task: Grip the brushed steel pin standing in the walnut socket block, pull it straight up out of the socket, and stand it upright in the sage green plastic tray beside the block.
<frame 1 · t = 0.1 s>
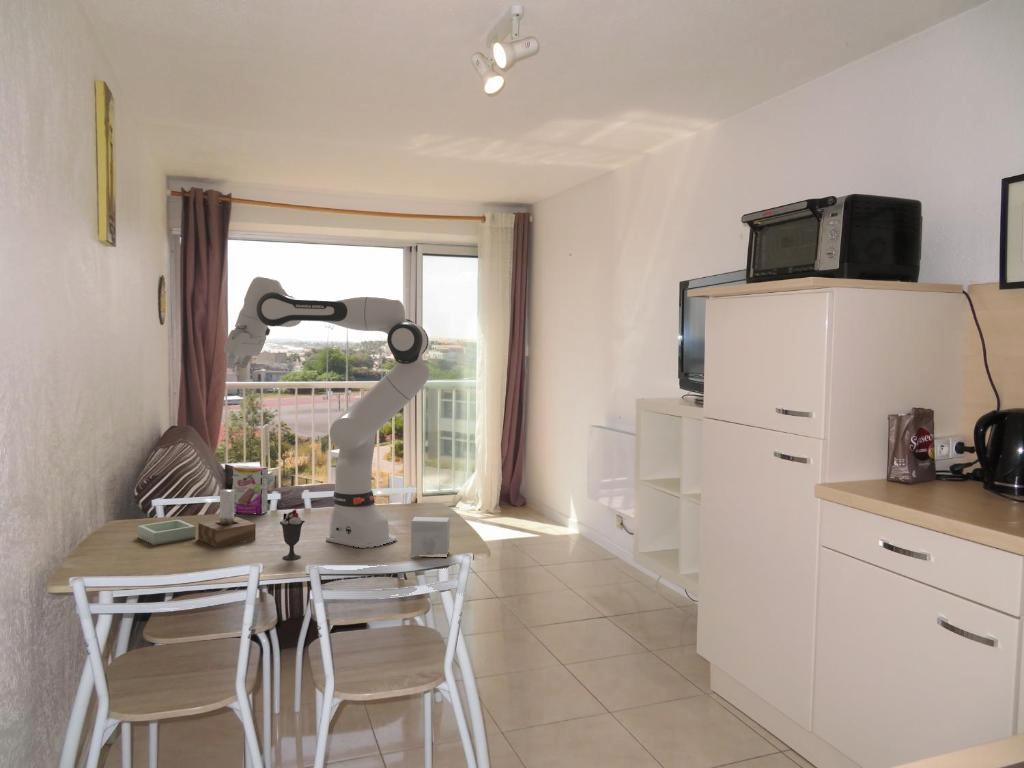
hand: (236, 367, 220), 52 cm above the table, tool tilted 20°, fingers open, 8 cm apart
skincare box: (430, 555, 203), on the table
candy bar box: (249, 513, 249), on the table
tray: (166, 537, 214), on the table
socket block: (226, 539, 214), on the table
sundae: (291, 558, 197), on the table
steel pin: (227, 515, 213), in the socket block
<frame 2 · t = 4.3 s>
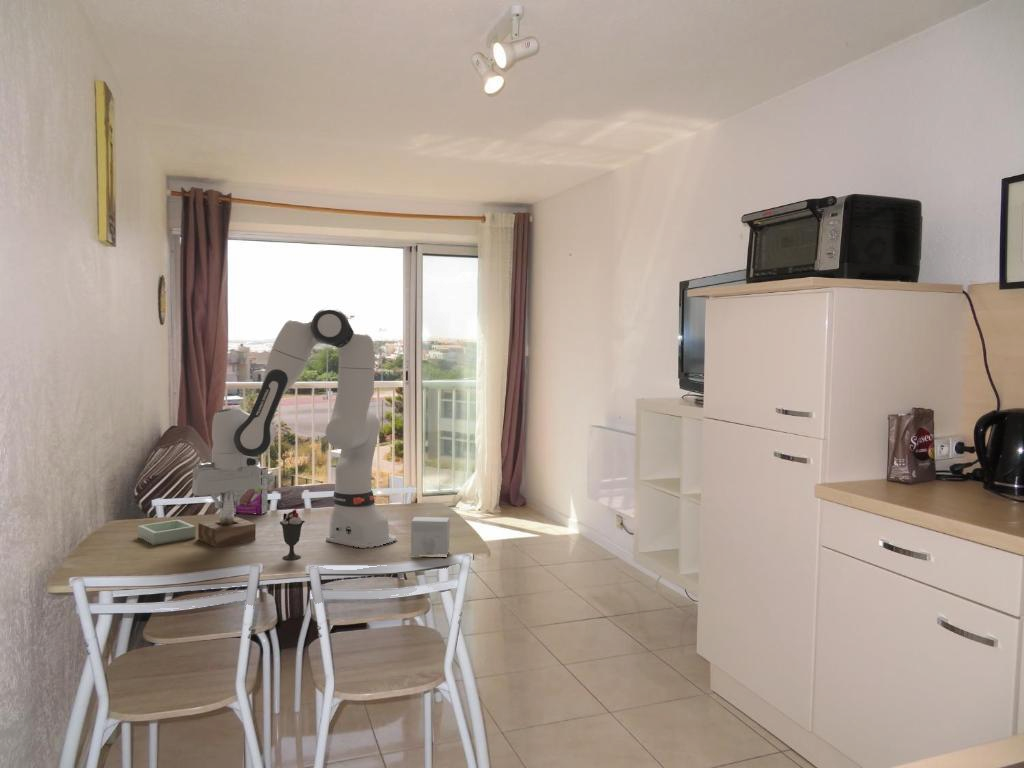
hand: (227, 506, 213), 10 cm above the table, tool pointing down, fingers closed on steel pin, 4 cm apart
steel pin: (227, 515, 213), in the socket block, touching gripper
everything else where it was.
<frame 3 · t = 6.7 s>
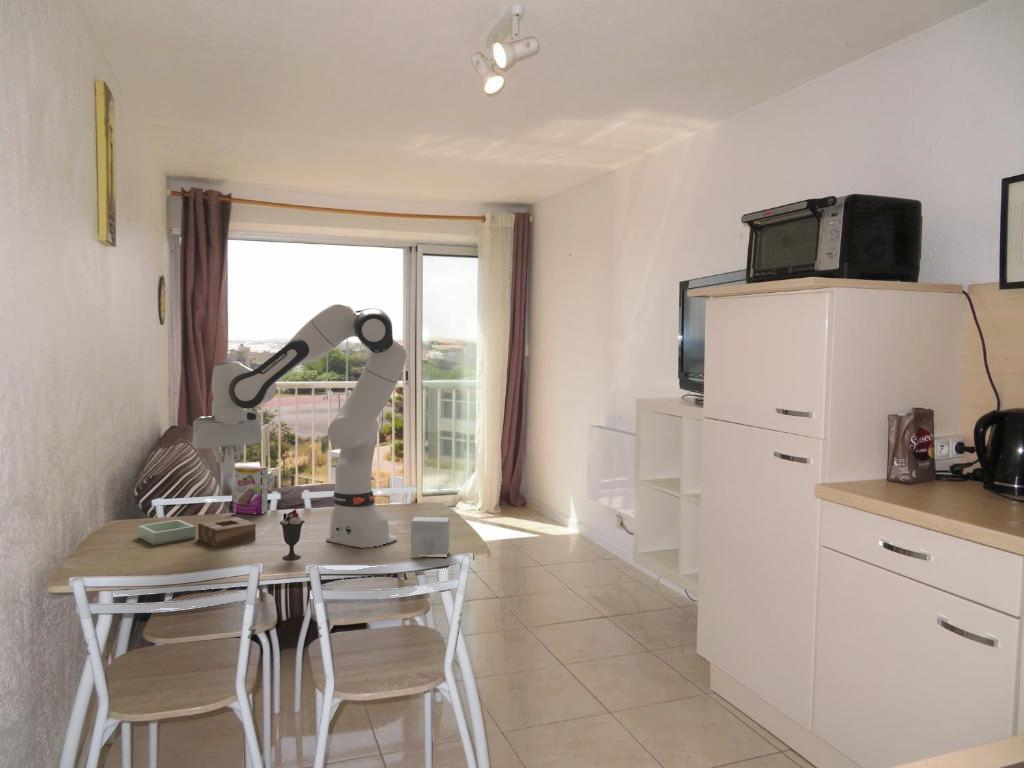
hand: (227, 460, 213), 24 cm above the table, tool pointing down, fingers closed on steel pin, 4 cm apart
steel pin: (227, 469, 213), point 21 cm above the table, touching gripper
everything else where it was.
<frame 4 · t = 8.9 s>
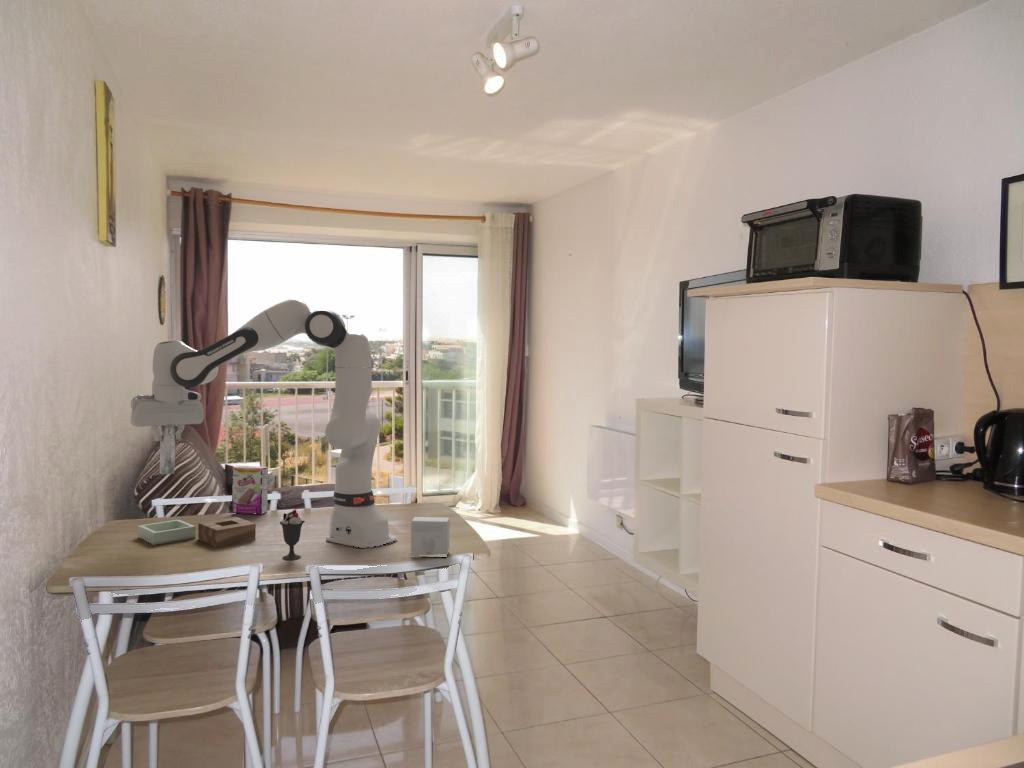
hand: (167, 440, 213), 30 cm above the table, tool pointing down, fingers closed on steel pin, 4 cm apart
steel pin: (167, 448, 213), point 27 cm above the table, touching gripper
everything else where it was.
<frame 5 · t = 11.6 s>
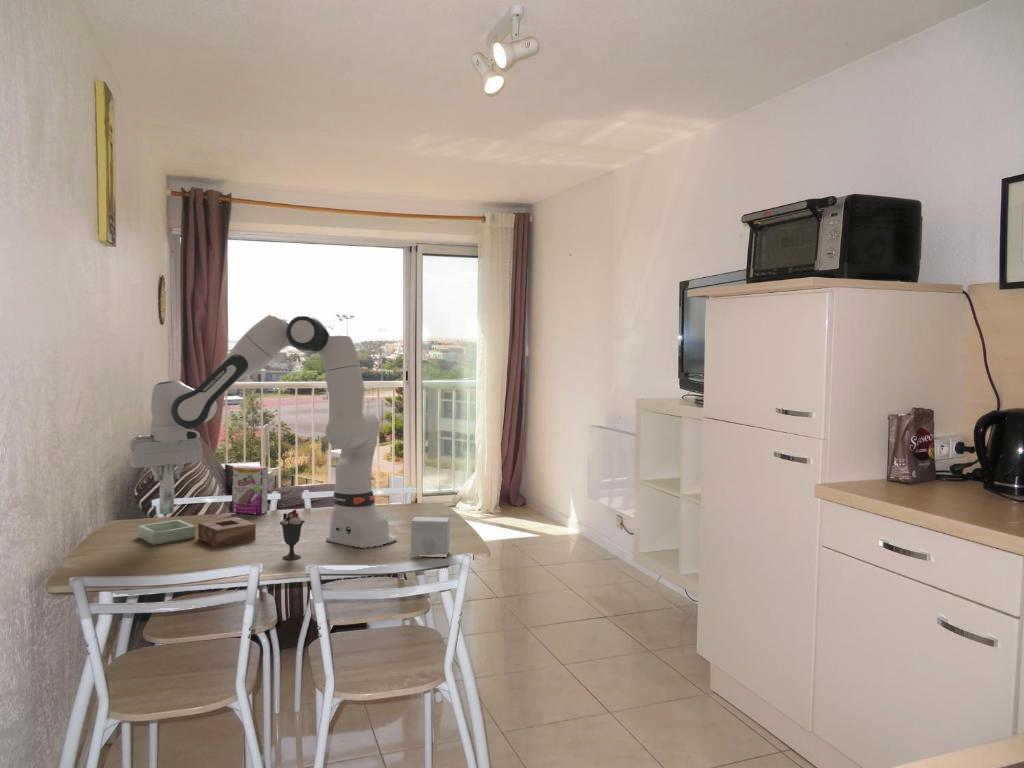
hand: (167, 479, 213), 18 cm above the table, tool pointing down, fingers closed on steel pin, 4 cm apart
steel pin: (166, 487, 213), point 15 cm above the table, touching gripper
everything else where it was.
when the fingers open (12 cm above the table, at t = 13.9 s): steel pin stays where it is, resting on tray.
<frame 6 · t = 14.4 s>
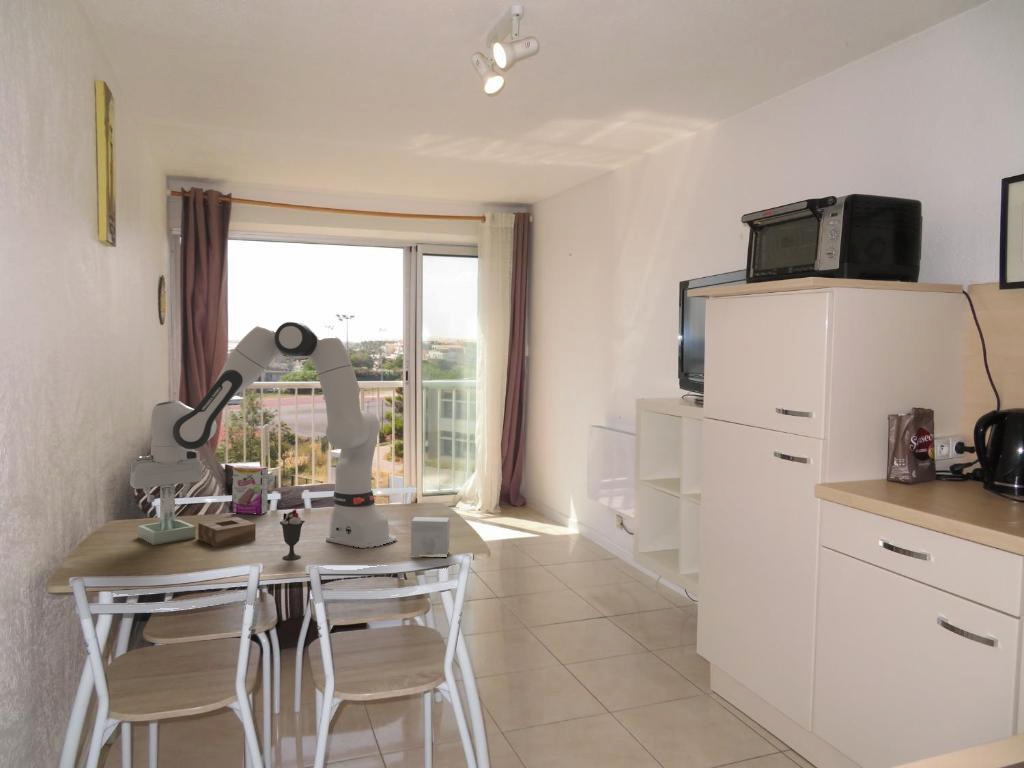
hand: (167, 499, 214), 12 cm above the table, tool pointing down, fingers open, 8 cm apart
steel pin: (167, 511, 214), in the tray, point 8 cm above the table
everything else where it was.
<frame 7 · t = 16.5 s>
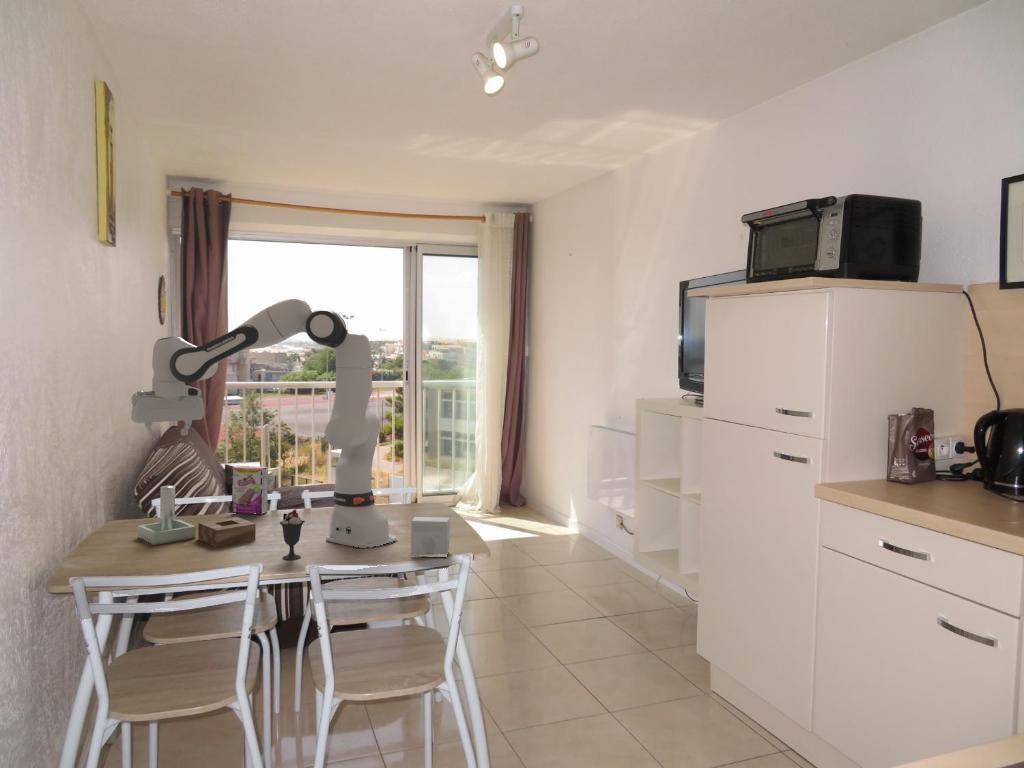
hand: (168, 436, 213), 31 cm above the table, tool pointing down, fingers open, 8 cm apart
nothing on the table moved.
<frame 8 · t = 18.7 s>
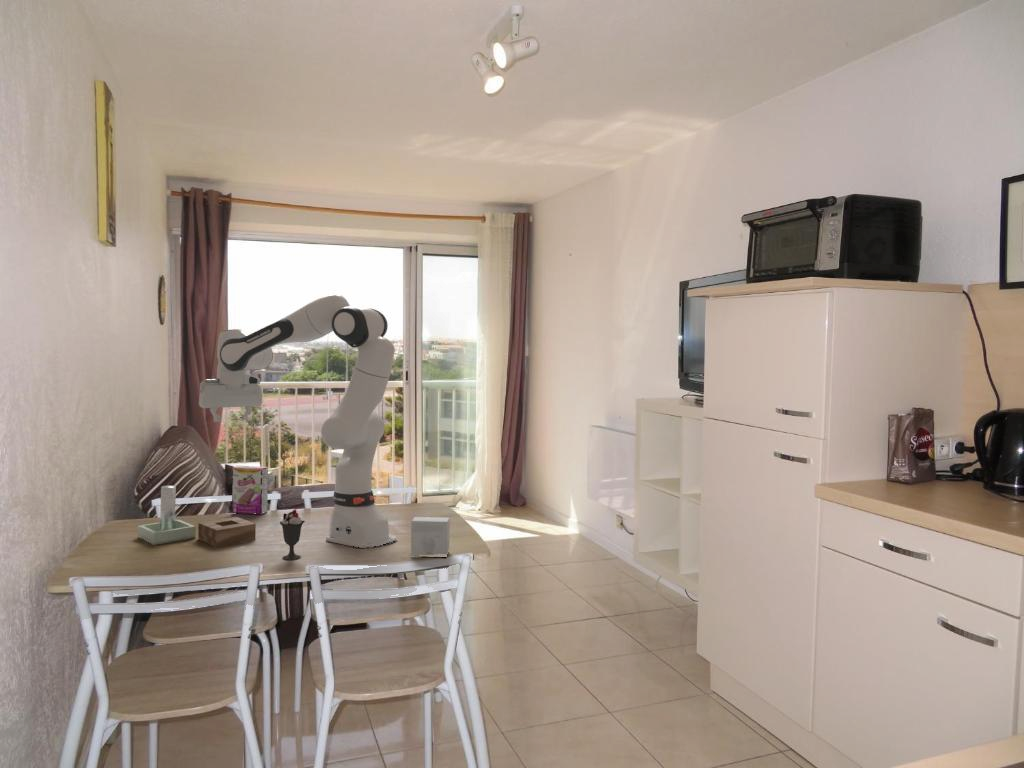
hand: (231, 420, 232), 34 cm above the table, tool pointing down, fingers open, 8 cm apart
nothing on the table moved.
at the end: steel pin 0.1 cm off-centre on the tray, point 8.1 cm above the tray's base; steel pin tilted 1°; the gripper is holding nothing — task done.
